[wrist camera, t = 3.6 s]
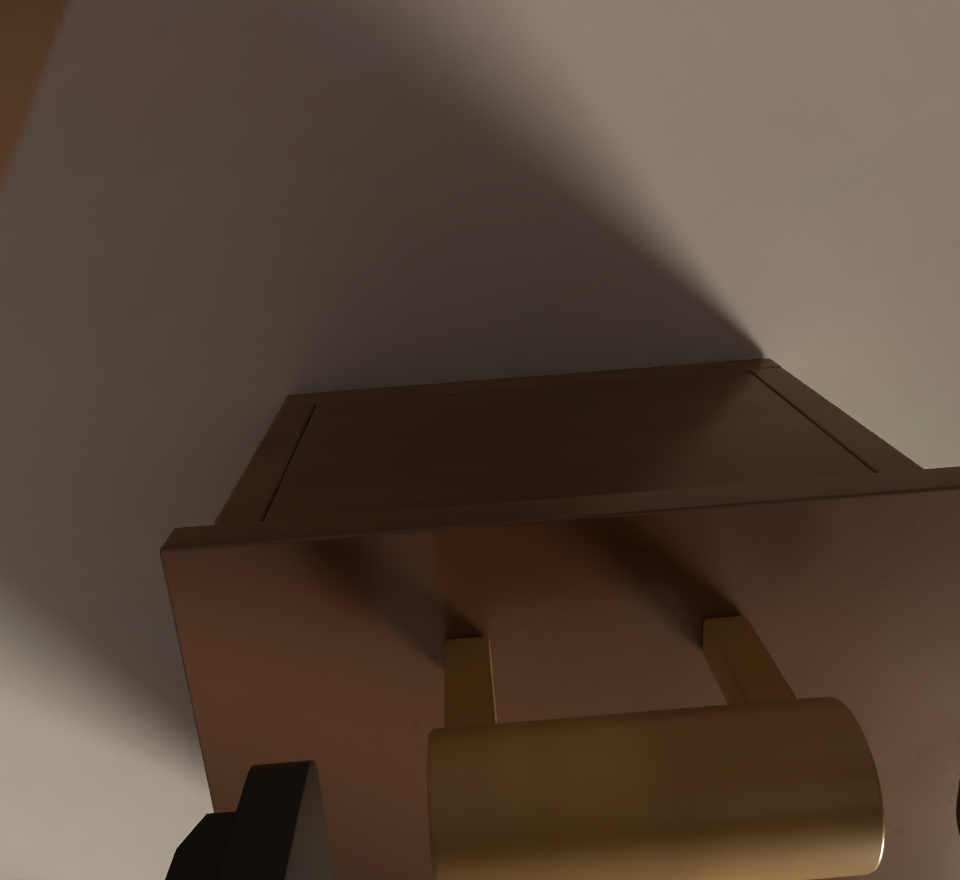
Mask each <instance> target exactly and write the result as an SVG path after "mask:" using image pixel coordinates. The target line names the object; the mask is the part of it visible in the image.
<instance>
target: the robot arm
mask: <svg viewBox="0 0 960 880" xmlns="http://www.w3.org/2000/svg"><path fill="white" fill-rule="evenodd" d="M956 819H957V826H958V830H959V834H960V780H959V788H958V796H957V804H956ZM165 880H333V866H332V857H331V850H330V844H329V838H328V831H327V825H326V818H325V812H324V806H323V799H322V793H321V787H320V780H319V774H318V770H317V766H316V763H315V762H314V760H306V761H294V762H282V763H270V764H258V765H252V767H251V768H250V770H249V772H248V774H247V778H246V781H245V784H244V787H243V791H242V794H241V797H240V800H239V804H238V807H237V810H236V811H235V812H223V813H211V814H206V815H205V816H204V818H203V819H202V820H201V821H200V822H199V823H198V825H197V826H196V827H195V828H194V829H193V830H192V832H191V833H190V834H189V835H188V836H187V837H186V838H185V840H184V841H183V842H182V843H181V844H180V845H179V847H178V848H177V849H176V852H175V854H174V857H173V860H172V862H171V865H170V868H169V871H168V873H167V876H166V879H165Z"/></svg>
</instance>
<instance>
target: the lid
mask: <svg viewBox="0 0 960 880" xmlns="http://www.w3.org/2000/svg"><path fill="white" fill-rule="evenodd" d="M160 555H161V560H162V565H163V570H164V574H165V579H166V584H167V589H168V594H169V598H170V603H171V608H172V613H173V618H174V622H175V627H176V632H177V637H178V642H179V646H180V651H181V656H182V661H183V666H184V670H185V675H186V680H187V685H188V690H189V694H190V699H191V704H192V709H193V714H194V718H195V723H196V728H197V733H198V738H199V742H200V747H201V752H202V757H203V762H204V766H205V771H206V776H207V781H208V786H209V790H210V795H211V800H212V805H213V810H214V813H223V812H235V811H236V810H237V807H238V804H239V800H240V797H241V794H242V791H243V787H244V784H245V781H246V778H247V774H248V772H249V770H250V768H251V767H252V765H258V764H270V763H282V762H294V761H306V760H314V762H315V763H316V766H317V770H318V774H319V780H320V787H321V793H322V799H323V806H324V812H325V818H326V825H327V831H328V838H329V844H330V850H331V857H332V866H333V880H960V834H959V830H958V826H957V819H956V804H957V796H958V788H959V780H960V467H948V468H935V469H923V470H910V471H897V472H884V473H872V474H859V475H846V476H834V477H821V478H808V479H795V480H783V481H770V482H757V483H744V484H732V485H719V486H706V487H693V488H681V489H668V490H655V491H642V492H630V493H617V494H604V495H592V496H579V497H566V498H553V499H541V500H528V501H515V502H502V503H490V504H477V505H464V506H451V507H439V508H426V509H413V510H400V511H388V512H375V513H362V514H350V515H337V516H324V517H311V518H299V519H286V520H273V521H260V522H248V523H235V524H222V525H209V526H197V527H184V528H175V529H174V530H173V531H172V533H171V534H170V536H169V537H168V538H167V540H166V541H165V543H164V544H163V546H162V547H161V549H160Z"/></svg>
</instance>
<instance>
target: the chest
mask: <svg viewBox="0 0 960 880" xmlns="http://www.w3.org/2000/svg"><path fill="white" fill-rule="evenodd" d="M910 470H923V468H922V467H920V466H919V465H918V464H916V463H915V462H913V461H912V460H911V459H909V458H908V457H906V456H905V455H904V454H902V453H901V452H899V451H898V450H897V449H895V448H894V447H892V446H891V445H890V444H888V443H887V442H885V441H884V440H883V439H881V438H880V437H878V436H877V435H876V434H874V433H873V432H871V431H870V430H869V429H867V428H866V427H864V426H863V425H862V424H860V423H859V422H857V421H856V420H855V419H853V418H852V417H850V416H849V415H848V414H846V413H845V412H843V411H842V410H841V409H839V408H838V407H836V406H835V405H834V404H832V403H831V402H829V401H828V400H827V399H825V398H824V397H822V396H821V395H820V394H818V393H817V392H815V391H814V390H813V389H811V388H810V387H808V386H807V385H806V384H804V383H803V382H801V381H800V380H799V379H797V378H796V377H794V376H793V375H791V374H790V373H789V372H787V371H786V370H784V369H783V368H781V366H780V365H778V364H777V363H775V362H774V361H773V360H771V359H769V358H768V359H755V360H742V361H729V362H716V363H703V364H690V365H677V366H664V367H651V368H638V369H625V370H612V371H599V372H586V373H573V374H560V375H547V376H534V377H521V378H508V379H495V380H482V381H469V382H456V383H442V384H429V385H416V386H403V387H390V388H377V389H364V390H351V391H338V392H325V393H312V394H299V395H288V396H287V397H286V399H285V401H284V402H283V404H282V407H281V409H280V410H279V412H278V414H277V416H276V417H275V419H274V421H273V422H272V424H271V426H270V428H269V429H268V431H267V433H266V435H265V436H264V438H263V440H262V441H261V443H260V445H259V447H258V448H257V450H256V452H255V454H254V455H253V457H252V459H251V460H250V462H249V464H248V466H247V467H246V469H245V471H244V473H243V474H242V476H241V478H240V479H239V481H238V483H237V485H236V486H235V488H234V490H233V492H232V493H231V495H230V497H229V498H228V500H227V502H226V504H225V505H224V507H223V509H222V511H221V512H220V514H219V516H218V517H217V519H216V521H215V523H214V524H213V525H222V524H235V523H248V522H260V521H273V520H286V519H299V518H311V517H324V516H337V515H350V514H362V513H375V512H388V511H400V510H413V509H426V508H439V507H451V506H464V505H477V504H490V503H502V502H515V501H528V500H541V499H553V498H566V497H579V496H592V495H604V494H617V493H630V492H642V491H655V490H668V489H681V488H693V487H706V486H719V485H732V484H744V483H757V482H770V481H783V480H795V479H808V478H821V477H834V476H846V475H859V474H872V473H884V472H897V471H910Z"/></svg>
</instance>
